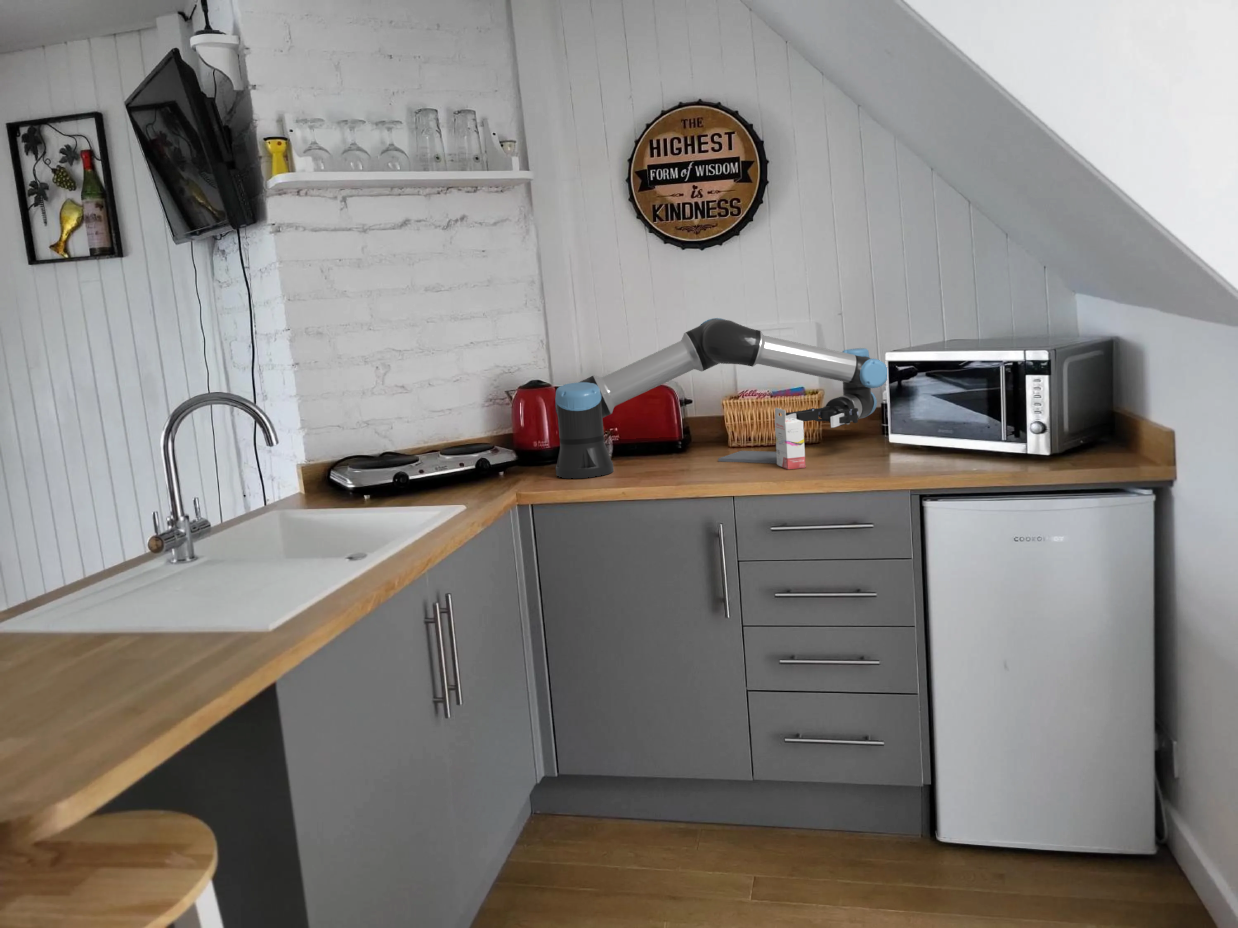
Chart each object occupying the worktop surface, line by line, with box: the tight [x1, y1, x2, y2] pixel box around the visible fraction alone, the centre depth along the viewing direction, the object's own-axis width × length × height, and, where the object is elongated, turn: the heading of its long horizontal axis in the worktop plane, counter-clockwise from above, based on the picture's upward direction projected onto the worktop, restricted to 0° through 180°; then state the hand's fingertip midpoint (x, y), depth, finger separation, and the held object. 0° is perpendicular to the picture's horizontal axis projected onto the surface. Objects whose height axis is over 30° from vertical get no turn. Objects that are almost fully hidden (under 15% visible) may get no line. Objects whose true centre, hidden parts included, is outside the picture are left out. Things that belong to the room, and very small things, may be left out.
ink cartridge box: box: [774, 407, 806, 470], centre depth 263 cm, size 9×5×15 cm, turn 10°
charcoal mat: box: [718, 450, 777, 464], centre depth 280 cm, size 18×12×1 cm, turn 54°
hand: (807, 422), depth 270 cm, fingers open, 13 cm apart
